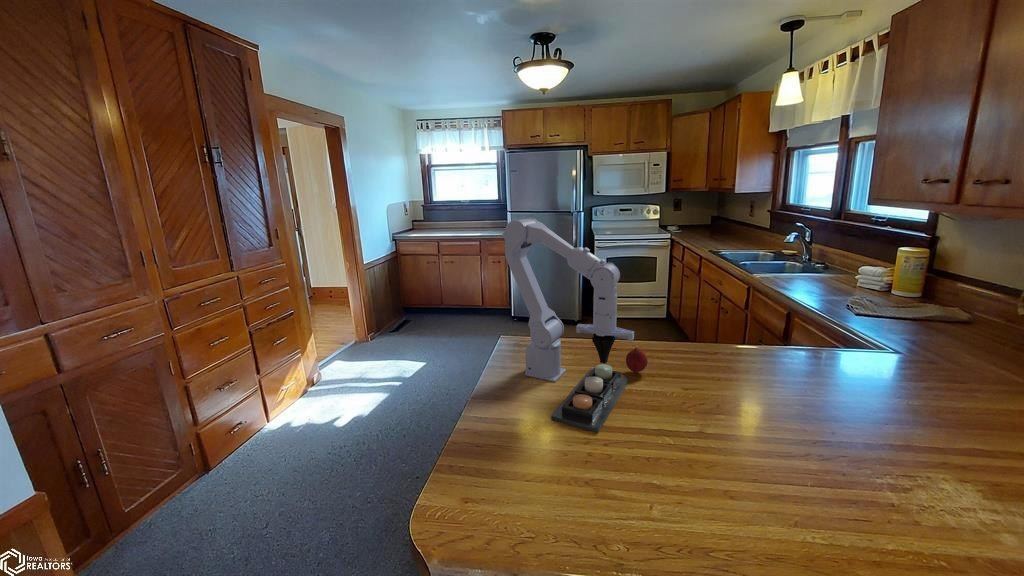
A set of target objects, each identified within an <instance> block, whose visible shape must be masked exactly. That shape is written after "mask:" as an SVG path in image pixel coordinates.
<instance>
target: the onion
mask: <svg viewBox="0 0 1024 576" xmlns="http://www.w3.org/2000/svg"><path fill="white" fill-rule="evenodd" d="M648 361H649V360H648V357H647V354H646V353H645V352H644V351H643V350H641V349H640V346H639V345H636V346H635V348H633V349H631V350H630V351H629V352H628V353H627V355H626V357H625V364H626V367H627V368H628V369H629V370H630V371H631V372H632V373H634V374H638V373H641V372H643V371H644V370H645V369H646V367H647V366H648V363H649V362H648Z"/></svg>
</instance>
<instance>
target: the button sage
mask: <svg viewBox="0 0 1024 576" xmlns="http://www.w3.org/2000/svg"><path fill="white" fill-rule="evenodd" d="M612 370H613V366H611V365H609V364H604V363H600V364H597V365H595V377H599V378H601V379H603V380H610V379H612Z"/></svg>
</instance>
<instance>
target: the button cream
mask: <svg viewBox="0 0 1024 576" xmlns="http://www.w3.org/2000/svg"><path fill="white" fill-rule="evenodd" d="M585 391H586V392H590V393H594V394H600V393H602V392H603V380H602V379H601V378H599V377H587V378H586V379H585Z"/></svg>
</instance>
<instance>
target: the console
mask: <svg viewBox="0 0 1024 576" xmlns="http://www.w3.org/2000/svg"><path fill="white" fill-rule="evenodd" d="M587 377H595V367H593V368H590V369H589V370H588V371H587V372H586V374H585V375H584V376H583V377H582V378H581V379H580V381H579V382H578V383H577V384H576V385H575V387H574V388H573V389H572V390H571V391H570V393H569V394H568V395H567V396H566V397H565V399H564V400H562V402H561V404H559V405H558V407H557V408H556V409H555V411H554V412H553V413H552V414H551V415H550V421H551V422H555V423H558V424H563V425H566V426H570V427H573V428H576V429H577V428H578V429H580V430H584V431H588V432H592V433H595V434H599V432H600V431H601V430H602V428H603V426H604V424H605V422H606V421H607V419H608V417H609V416H610V415H611V412H612V411H613V409H614V407H615V406H616V404H617V403H618V400H619V399H620V397H621V396H622V394H623V392H624V391H625V389H626V387H627V386H628V384H629V382H630V378H631V377H630V376H627V375H624V374H623V375H622V373H621V371H618V370H617V371H616V370H613V369H612V379H610V380H603V379H602V380H603V392H602V393H600V394H594V393H590V392H586V391H585V379H586V378H587ZM580 394H583V395H588V396H590V397H591V398H592V408H591V410H590V411H587V410H583V409H579V408H575V407H573V397H574V396H576V395H580Z"/></svg>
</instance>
